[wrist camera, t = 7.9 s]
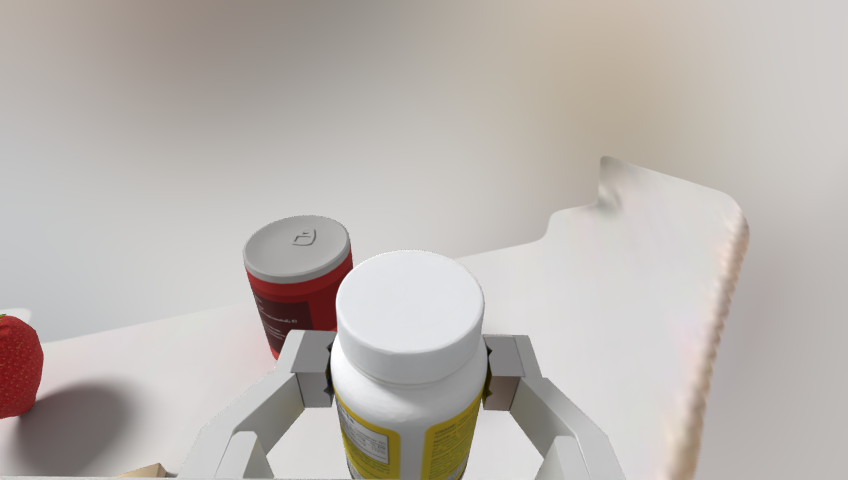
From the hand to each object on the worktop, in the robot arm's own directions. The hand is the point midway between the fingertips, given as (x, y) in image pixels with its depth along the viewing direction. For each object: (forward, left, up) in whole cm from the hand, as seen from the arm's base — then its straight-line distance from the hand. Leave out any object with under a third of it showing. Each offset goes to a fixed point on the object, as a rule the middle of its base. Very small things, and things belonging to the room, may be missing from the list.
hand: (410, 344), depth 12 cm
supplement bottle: (0, -1, -5) cm, 5 cm away
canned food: (-3, +16, -17) cm, 24 cm away
